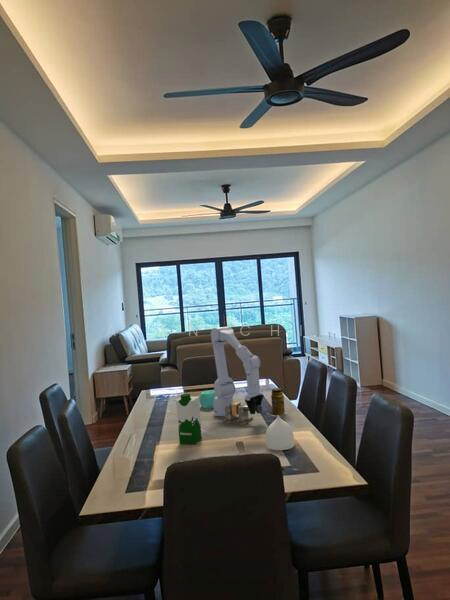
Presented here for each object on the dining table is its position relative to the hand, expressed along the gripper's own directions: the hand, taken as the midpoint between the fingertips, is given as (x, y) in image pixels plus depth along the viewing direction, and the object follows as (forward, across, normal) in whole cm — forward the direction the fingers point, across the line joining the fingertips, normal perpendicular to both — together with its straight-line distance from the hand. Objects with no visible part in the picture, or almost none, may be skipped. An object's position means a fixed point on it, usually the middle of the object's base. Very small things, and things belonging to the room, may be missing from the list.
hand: (255, 412), depth 201 cm
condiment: (+5, +17, -4) cm, 18 cm away
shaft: (0, 0, +5) cm, 5 cm away
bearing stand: (+5, 0, +9) cm, 10 cm away
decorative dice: (+5, +21, +38) cm, 43 cm away
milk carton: (+5, -31, +16) cm, 35 cm away
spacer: (+1, 0, +10) cm, 10 cm away
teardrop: (+5, -24, -22) cm, 33 cm away
